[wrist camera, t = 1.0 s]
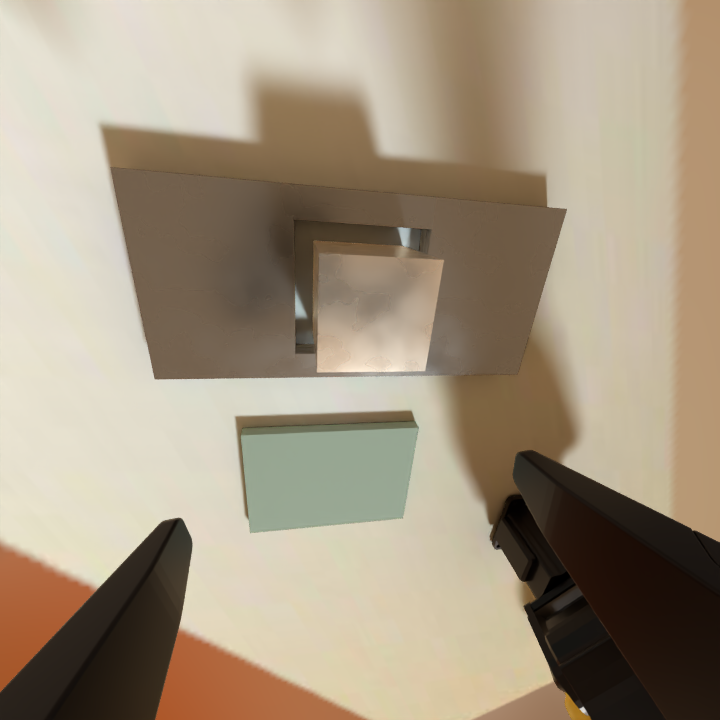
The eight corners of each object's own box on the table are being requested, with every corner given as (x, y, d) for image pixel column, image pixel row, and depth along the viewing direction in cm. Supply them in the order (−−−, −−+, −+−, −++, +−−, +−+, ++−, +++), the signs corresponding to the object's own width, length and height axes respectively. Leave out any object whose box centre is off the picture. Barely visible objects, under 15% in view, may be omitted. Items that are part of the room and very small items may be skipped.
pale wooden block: (402, 245, 18) (444, 260, 13) (392, 329, 20) (425, 371, 15) (313, 240, 18) (319, 252, 12) (312, 328, 20) (316, 372, 14)
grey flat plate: (548, 209, 19) (566, 209, 18) (504, 364, 23) (517, 374, 22) (127, 171, 15) (110, 167, 14) (165, 367, 19) (154, 379, 18)
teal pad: (415, 421, 24) (418, 427, 23) (400, 510, 27) (402, 518, 27) (242, 428, 22) (240, 435, 21) (251, 524, 25) (249, 533, 24)
